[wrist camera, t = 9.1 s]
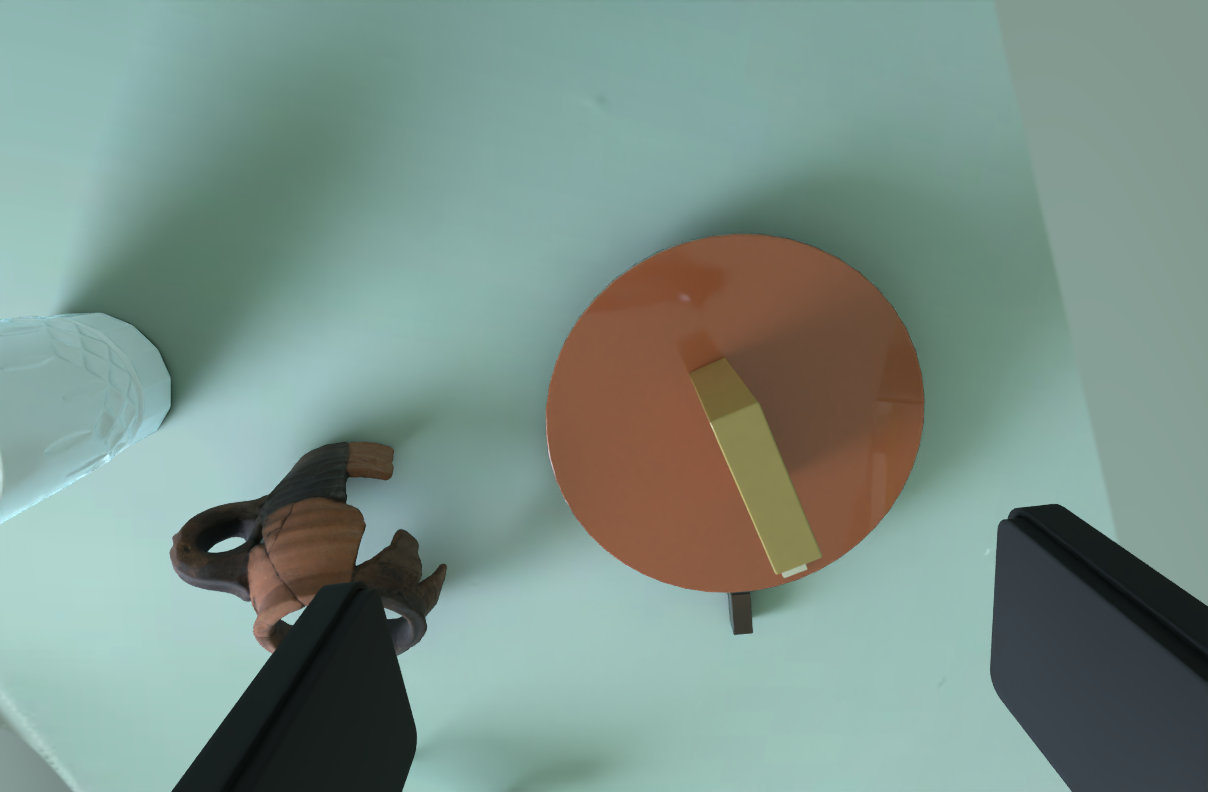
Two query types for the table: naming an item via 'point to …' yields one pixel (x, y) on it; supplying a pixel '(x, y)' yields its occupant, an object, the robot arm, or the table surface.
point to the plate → (784, 367)
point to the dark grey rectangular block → (740, 612)
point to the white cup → (72, 400)
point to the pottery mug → (308, 547)
